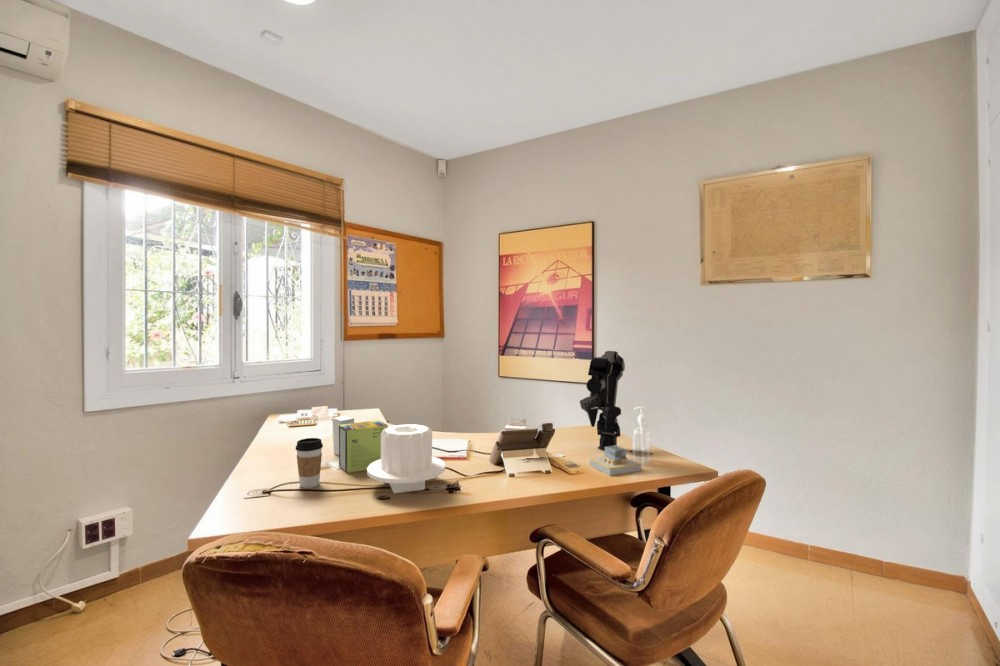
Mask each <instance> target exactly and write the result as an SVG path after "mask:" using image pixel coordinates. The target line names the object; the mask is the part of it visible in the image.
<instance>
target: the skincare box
mask: <svg viewBox="0 0 1000 666" xmlns="http://www.w3.org/2000/svg"><path fill="white" fill-rule="evenodd" d="M331 419H332V438H333V439H332V440H333V441H332V442H333V443H332V444H333V454H334V455H336V456H339V425H343V424H351V423H355V418H354V417H350V416H348V415H341V416H337V417H336V416H335V417H332V418H331Z"/></svg>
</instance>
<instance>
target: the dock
mask: <svg viewBox="0 0 1000 666" xmlns="http://www.w3.org/2000/svg"><path fill="white" fill-rule="evenodd" d="M589 466H590V467H592V468H594V469H596V470H597V471H600V472H601V473H603V474H606V475H607V476H609V477H611V476H617V475H622V474H630V473H636V472H641V471H642V462H638V461H635V460H633V459H631V458H628V463H623V464H617V465H611V463H607V462H606V461H603V460H602V457H597V458H589Z"/></svg>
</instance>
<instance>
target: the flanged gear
mask: <svg viewBox="0 0 1000 666" xmlns="http://www.w3.org/2000/svg"><path fill="white" fill-rule="evenodd" d="M445 471H446V463H445V461H444V460H442V459H441V458H438V457H436V456H433V430H432V428H431V427H429V426H426V425H425V424H424V425H421V424H416V423H411V424H409V423H407V424H403V423H402V424H397V425H391V426H389V427H388V428H385V429H384V430H383V431H382V433H381V459H379V460H377V461H375V462H373V463H371V464H370V465H369V466H368V467H367V470H366V474H367V476H368V477H369V478H371V479H372V480H374V481H377V482H381V483H388V484H389V486H390V489H391V490H392V493H393V494H402V493H409V492H410V493H411V492H417V491H423V490H425V489H426V481H429V480H432V479H435V478H438V477H440V476H441V475H443V473H444V472H445Z"/></svg>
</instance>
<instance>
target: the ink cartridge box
mask: <svg viewBox="0 0 1000 666" xmlns="http://www.w3.org/2000/svg"><path fill="white" fill-rule="evenodd" d="M505 420H506V425H505V427H504V432H505V431H509V430H523V429H526V430H527V419H526V418H523V417H522V418H520V417H519V418H518V417H507V418H506V419H505Z"/></svg>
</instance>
